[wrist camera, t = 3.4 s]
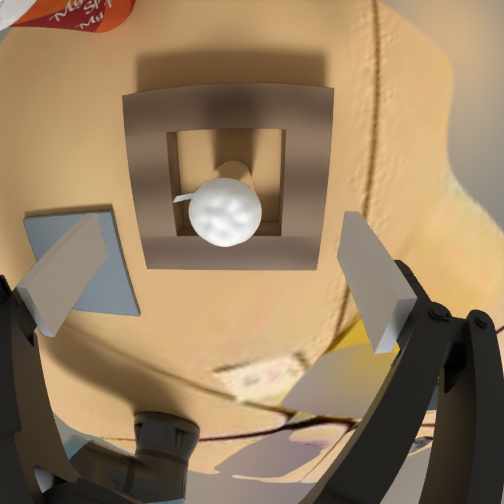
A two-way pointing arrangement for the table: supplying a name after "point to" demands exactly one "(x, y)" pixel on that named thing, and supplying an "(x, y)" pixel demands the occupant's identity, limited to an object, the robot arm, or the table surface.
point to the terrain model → (420, 443)
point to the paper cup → (65, 14)
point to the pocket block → (228, 117)
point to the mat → (109, 273)
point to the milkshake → (225, 206)
